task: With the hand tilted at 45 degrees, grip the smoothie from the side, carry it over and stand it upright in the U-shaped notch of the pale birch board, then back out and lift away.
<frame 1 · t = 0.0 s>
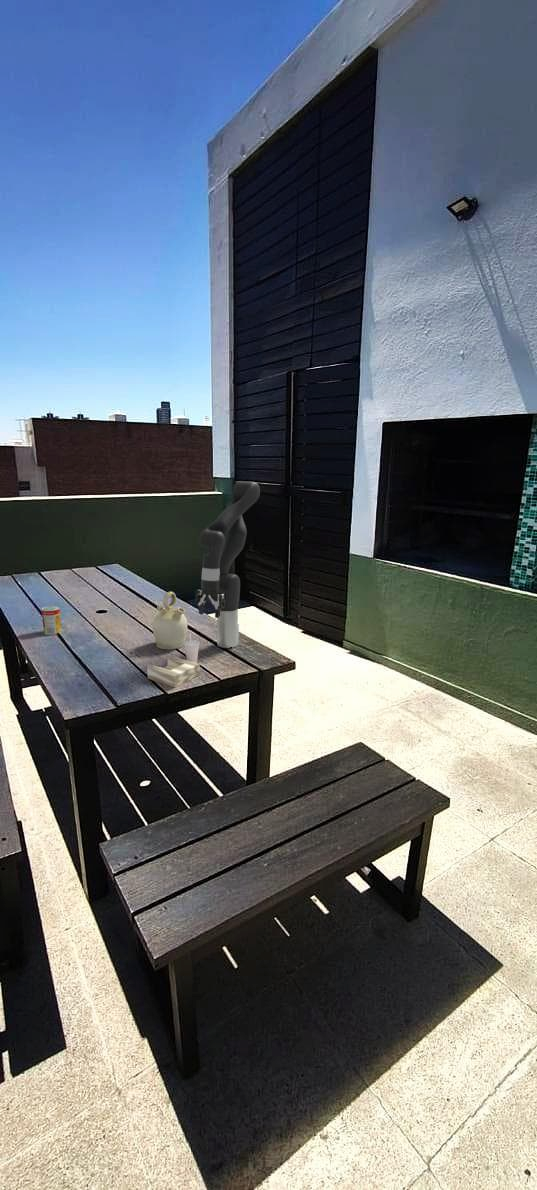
hand: (209, 615, 208), 17 cm above the table, tool pointing down, fingers open, 8 cm apart
smoothie: (192, 665, 200), on the table
notched board: (174, 676, 188), on the table
canned food: (52, 632, 234), on the table
jug: (170, 645, 221), on the table
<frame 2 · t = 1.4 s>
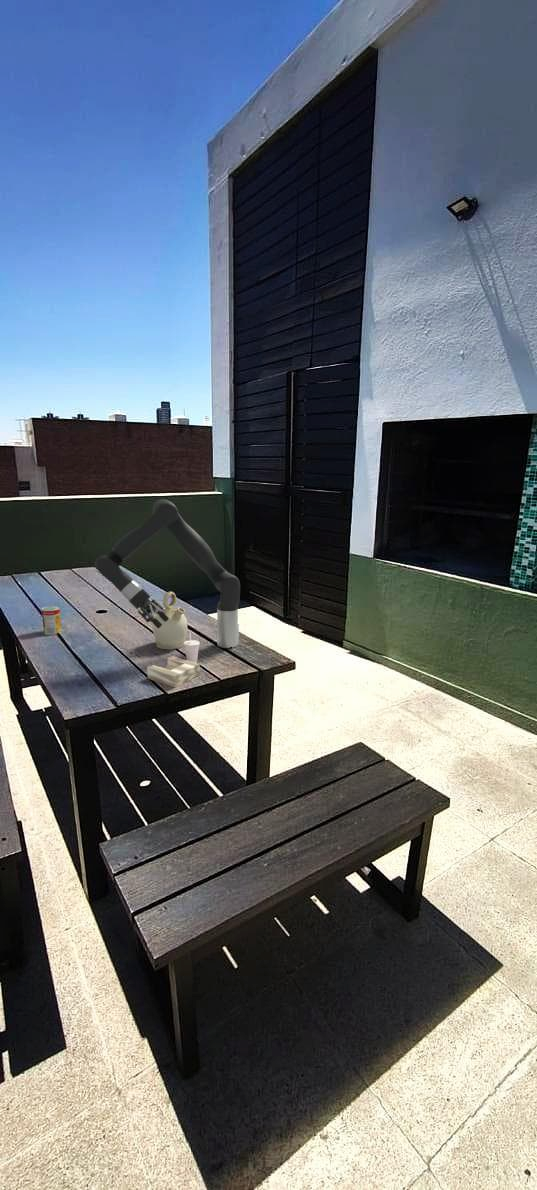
hand: (163, 623, 197), 17 cm above the table, tool tilted 45°, fingers open, 8 cm apart
nothing on the table moved.
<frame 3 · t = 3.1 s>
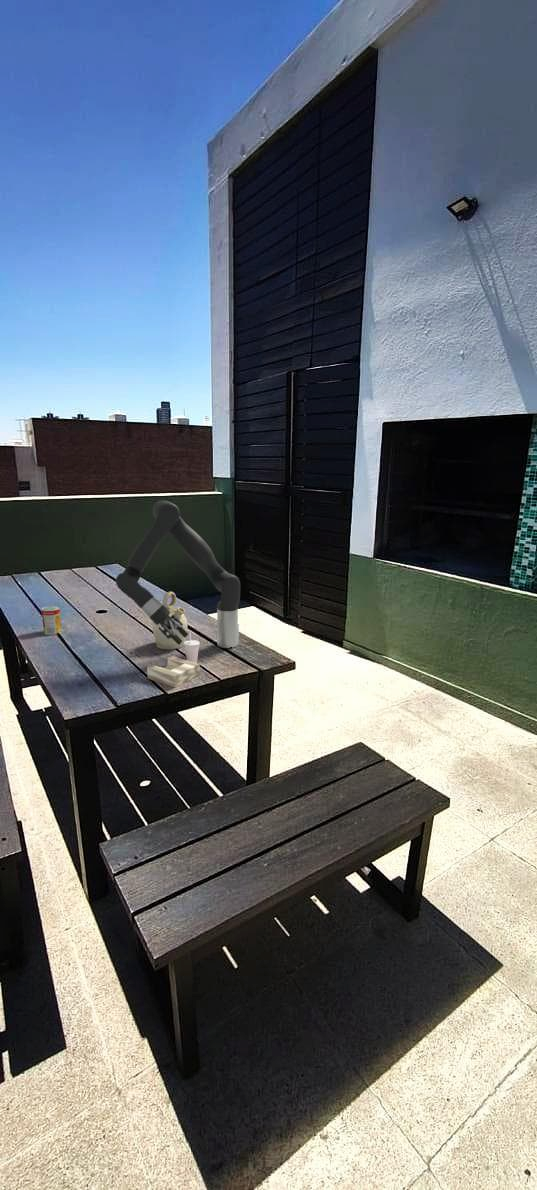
hand: (183, 639, 197), 11 cm above the table, tool tilted 45°, fingers open, 8 cm apart
nothing on the table moved.
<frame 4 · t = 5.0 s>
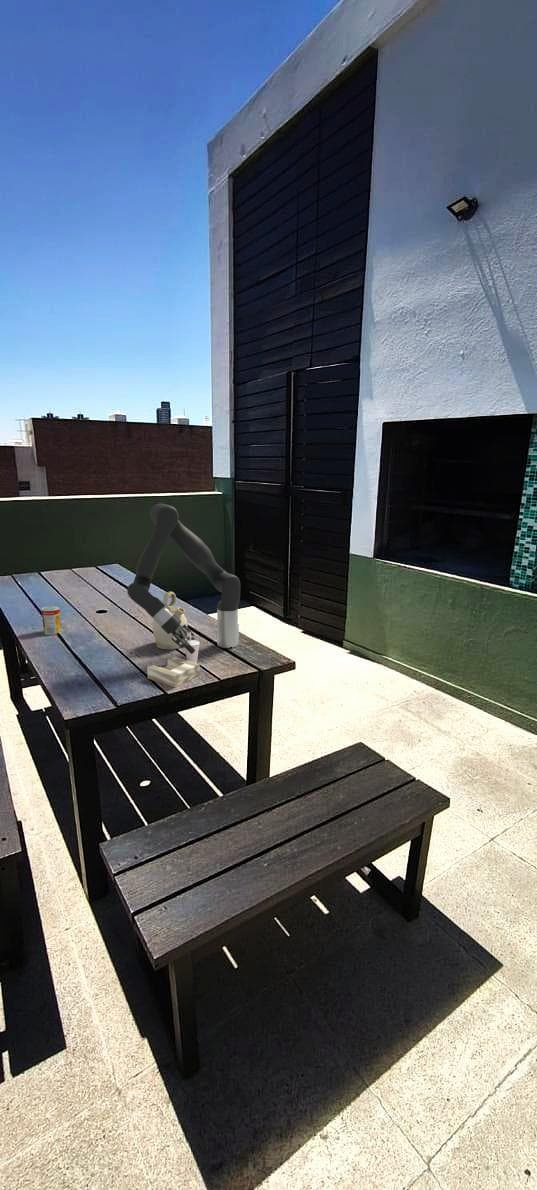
hand: (195, 649, 198), 7 cm above the table, tool tilted 45°, fingers closed on smoothie, 6 cm apart
smoothie: (192, 665, 200), on the table, touching gripper
everything else where it was.
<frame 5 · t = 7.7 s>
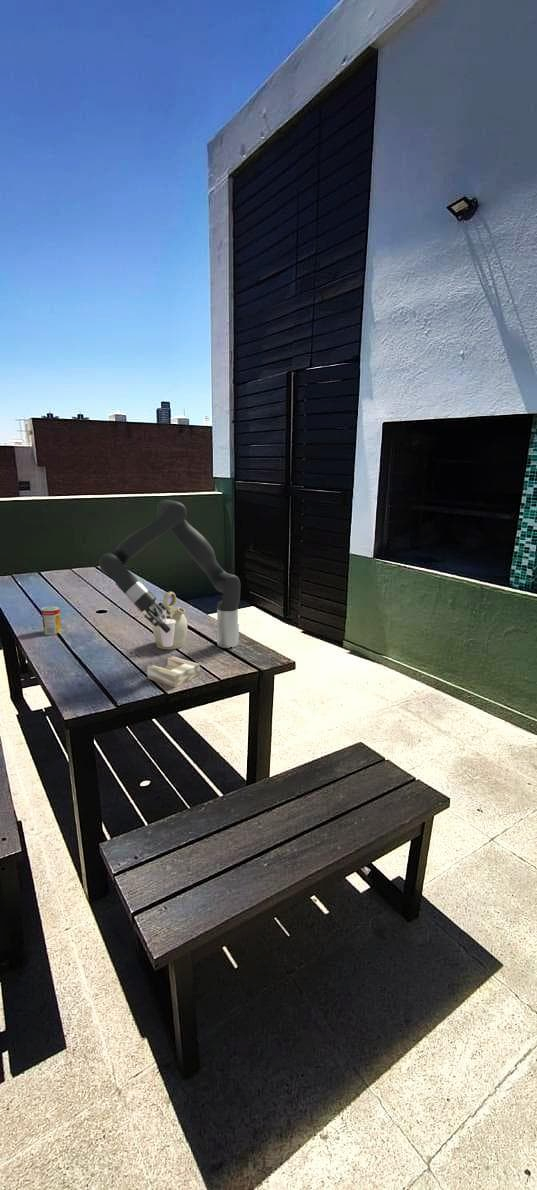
hand: (171, 628, 184), 19 cm above the table, tool tilted 45°, fingers closed on smoothie, 6 cm apart
smoothie: (167, 645, 186), point 12 cm above the table, touching gripper
everything else where it was.
when the fingers open (10 cm above the table, at t = 10.5 s): smoothie drops 1 cm, resting on notched board.
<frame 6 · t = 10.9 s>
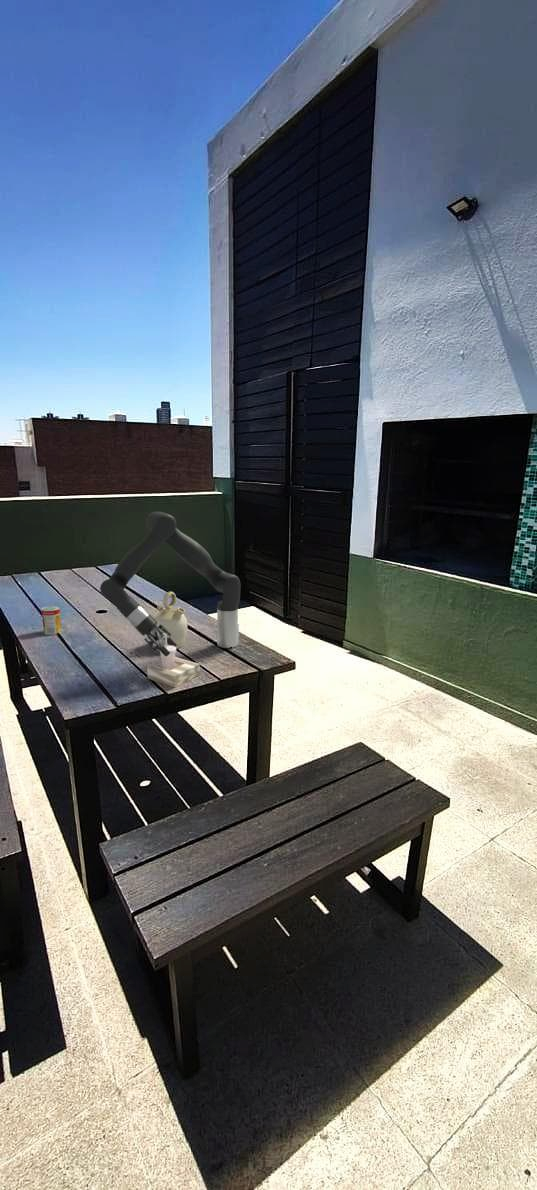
hand: (171, 650, 186), 10 cm above the table, tool tilted 45°, fingers open, 8 cm apart
smoothie: (168, 672, 189), point 1 cm above the table, touching notched board
everything else where it was.
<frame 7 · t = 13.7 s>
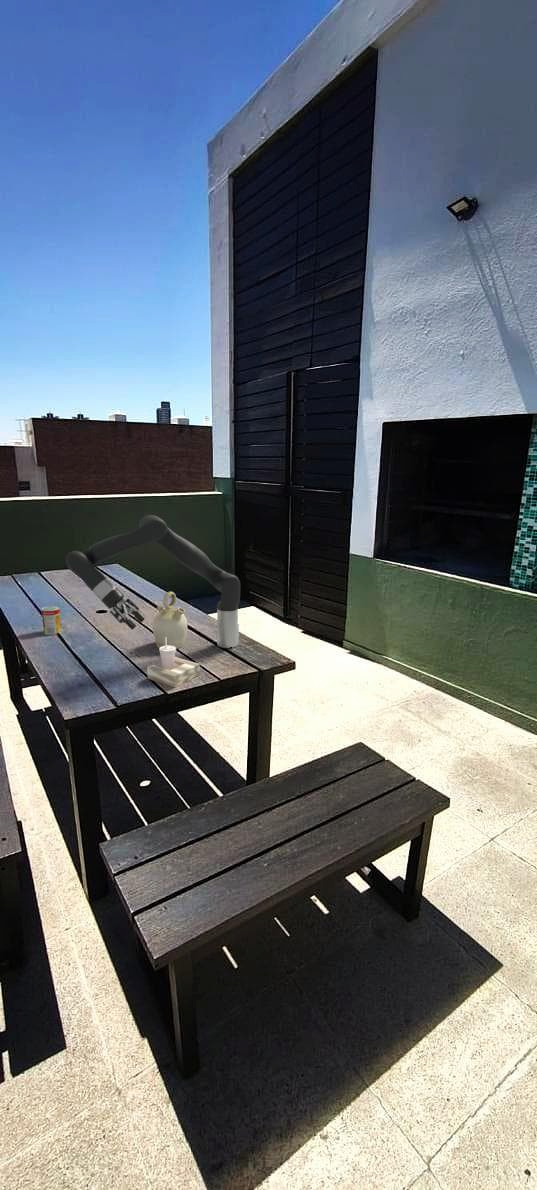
hand: (138, 624, 185), 20 cm above the table, tool tilted 45°, fingers open, 8 cm apart
nothing on the table moved.
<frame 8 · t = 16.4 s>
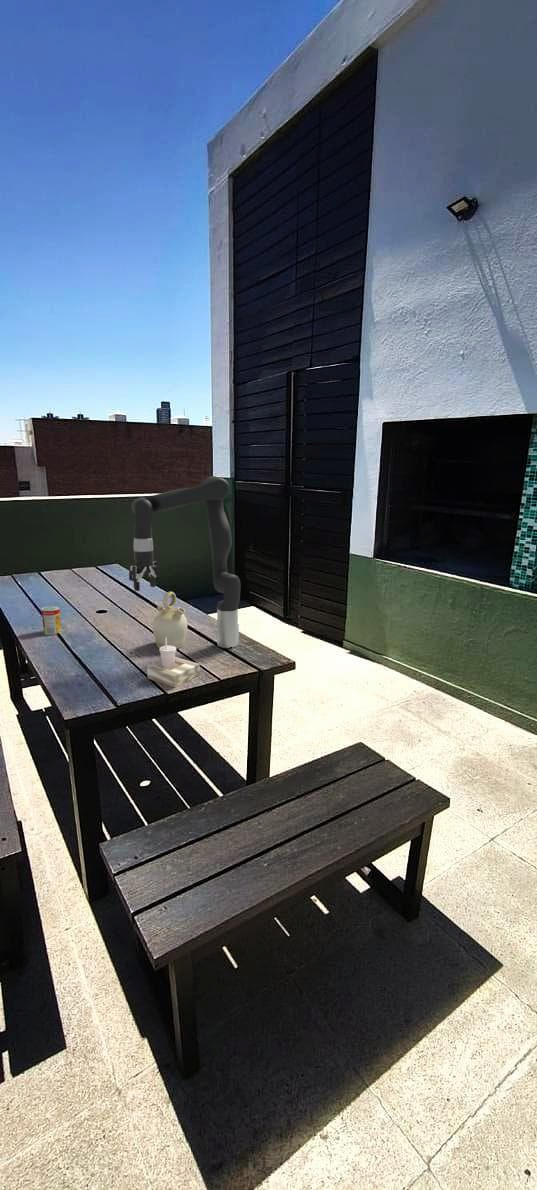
hand: (145, 588, 198), 30 cm above the table, tool pointing down, fingers open, 8 cm apart
nothing on the table moved.
at the end: smoothie 0.4 cm from the target spot on the notched board, point 1.3 cm above the notched board's base; smoothie tilted 0°; the gripper is holding nothing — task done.
